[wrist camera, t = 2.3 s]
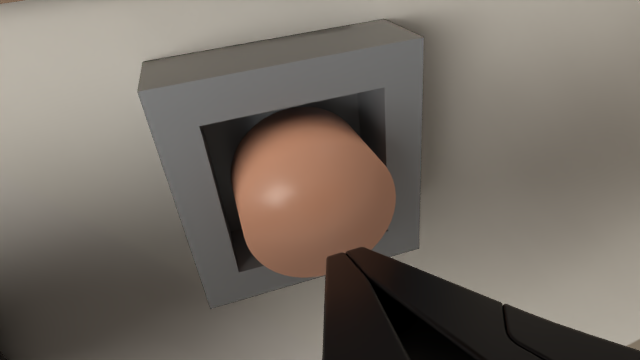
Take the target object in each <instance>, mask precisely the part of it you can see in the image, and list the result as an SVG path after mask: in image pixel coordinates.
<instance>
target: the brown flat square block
mask: <svg viewBox="0 0 640 360" xmlns="http://www.w3.org/2000/svg"><path fill="white" fill-rule="evenodd" d="M16 1H23V0H0V4H2V3H9V2H16Z"/></svg>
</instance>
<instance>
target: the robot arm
mask: <svg viewBox="0 0 640 360" xmlns="http://www.w3.org/2000/svg"><path fill="white" fill-rule="evenodd" d="M0 360H6V358H5V357H4V356H3V354H2V353H1V352H0ZM322 360H640V351H639V350H636V349H633V348H630V347H627V346H624V345H621V344H617V343H614V342H611V341H608V340H605V339H602V338H599V337H596V336H593V335H589V334H586V333H584V332H581V331H578V330H575V329H572V328H569V327H566V326H563V325H560V324H557V323H554V322H551V321H549V320H546V319H544V318H541V317H538V316H536V315H533V314H530V313H528V312H525V311H523V310H520V309H518V308H515V307H513V306H510V305H508V304H504V305H502V303H501V302H499V301H496V300H494V299H491V298H489V297H486V296H484V295H481V294H479V293H476V292H474V291H471V290H469V289H466V288H464V287H461V286H459V285H457V284H454V283H452V282H449V281H447V280H444V279H442V278H439V277H437V276H434V275H432V274H429V273H427V272H424V271H422V270H419V269H417V268H414V267H412V266H410V265H407V264H405V263H402V262H400V261H397V260H395V259H392V258H390V257H387V256H385V255H382V254H380V253H377V252H375V251H372V250H370V249H367V248H365V247H358V248H355V249H351V250H348V251H346V253H343V252H341V253H337V254H334V255H330V256H328V257H327V258H326V277H325V303H324V329H323V355H322Z"/></svg>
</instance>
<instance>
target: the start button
mask: <svg viewBox="0 0 640 360" xmlns="http://www.w3.org/2000/svg"><path fill="white" fill-rule="evenodd" d="M231 184H232V189H233V193H234V197H235V201H236V206H237V210H238V214H239V218H240V222H241V226H242V230H243V235H244V238H245V241H246V244H247V246H248V248H249V250H250V252H251V253H252V254H253V256H254V257H255V258H256V259H257V260H258V261H259V262H260V263H261V264H262V265H264V266H265V267H267V268H268V269H270V270H272V271H274V272H276V273H279V274H282V275H286V276H291V277H300V278H307V277H318V276H323V275H326V258H327V257H328V256H330V255H334V254H337V253H341V252H343V253H346V251H348V250H351V249H355V248H358V247H365V248H367V249H370V250H372V249H373V248H374V247H375V245H376V244H377V243H378V242H379V241H380V239H381V238H382V237H383V235H384V234H385V232H386V230H387V229H388V227H389V225H390V222H391V220H392V217H393V214H394V210H395V204H396V192H395V185H394V181H393V179H392V176H391V174H390V172H389V170H388V169H387V167H386V166H385V165H384V164H383V162H382V161H381V160H380V159H379V158H378V157H377V156H376V154H375V153H374V152H373V151H372V150H371V149H370V148H369V147H368V145H367V144H366V143H365V142H364V141H363V140H362V139H361V138H360V136H359V135H358V134H357V133H356V132H355V131H354V130H353V129H352V127H351V126H350V125H349V124H348V123H347V122H346V121H345V120H343V119H342V118H341V117H339V116H338V115H336V114H334V113H332V112H330V111H327V110H324V109H321V108H316V107H294V108H289V109H285V110H281V111H279V112H276V113H274V114H271V115H270V116H268V117H266V118H264V119H263V120H261V121H260V122H259V123H257V124H256V125H255V126H254V127H253V128H252V129H251V130H250V131H248V133H247V134H246V135H245V136H244V138H243V139H242V140H241V142H240V144H239V145H238V147H237V149H236V152H235V154H234V157H233V160H232V165H231Z"/></svg>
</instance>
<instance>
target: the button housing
mask: <svg viewBox="0 0 640 360" xmlns="http://www.w3.org/2000/svg"><path fill="white" fill-rule="evenodd" d="M423 55H424V37H422V36H420V35H418V34H416V33H413V32H411V31H409V30H407V29H405V28H402V27H400V26H398V25H396V24H394V23H391V22H389V21H387V20H385V19H381V20H375V21H370V22H364V23H359V24H353V25H347V26H342V27H336V28H330V29H325V30H319V31H314V32H308V33H302V34H297V35H291V36H285V37H280V38H274V39H269V40H263V41H257V42H252V43H246V44H240V45H235V46H229V47H224V48H218V49H212V50H207V51H201V52H195V53H190V54H184V55H179V56H173V57H167V58H162V59H156V60H150V61H145V62H143V63H142V68H141V74H140V80H139V85H138V91H137V92H138V95H139V98H140V101H141V104H142V107H143V110H144V113H145V116H146V119H147V122H148V125H149V128H150V131H151V134H152V137H153V140H154V143H155V146H156V148H157V151H158V154H159V157H160V160H161V163H162V166H163V169H164V172H165V175H166V178H167V181H168V184H169V187H170V190H171V193H172V196H173V199H174V202H175V205H176V208H177V211H178V214H179V217H180V220H181V223H182V226H183V229H184V232H185V235H186V238H187V241H188V243H189V246H190V249H191V252H192V255H193V258H194V261H195V264H196V267H197V270H198V273H199V276H200V279H201V282H202V285H203V288H204V291H205V294H206V297H207V300H208V303H209V306H210V309H212V308H215V307H219V306H222V305H225V304H229V303H232V302H236V301H239V300H243V299H246V298H250V297H253V296H257V295H260V294H263V293H267V292H270V291H274V290H277V289H281V288H284V287H288V286H291V285H295V284H298V283H301V282H305V281H308V280H312V279H315V278H319V277H322V276H318V277H307V278H300V277H291V276H286V275H282V274H279V273H276V272H274V271H272V270H270V269H268V268H267V267H265V266H264V265H262V264H261V263H260V262H259V261H258V260H257V259H256V258H255V257H254V256H253V254H252V253H251V252H250V250H249V248H248V246H247V244H246V241H245V238H244V235H243V230H242V226H241V222H240V218H239V214H238V210H237V206H236V201H235V197H234V193H233V189H232V184H231V165H232V160H233V157H234V154H235V152H236V149H237V147H238V145H239V144H240V142H241V140H242V139H243V138H244V136H245V135H246V134H247V133H248V131H250V130H251V129H252V128H253V127H254V126H255V125H256V124H257V123H259V122H260V121H261V120H263V119H264V118H266V117H268V116H270V115H271V114H274V113H276V112H279V111H281V110H285V109H289V108H294V107H316V108H321V109H324V110H327V111H330V112H332V113H334V114H336V115H338V116H339V117H341V118H342V119H343V120H345V121H346V122H347V123H348V124H349V125H350V126H351V127H352V129H353V130H354V131H355V132H356V133H357V134H358V135H359V136H360V138H361V139H362V140H363V141H364V142H365V143H366V144H367V145H368V147H369V148H370V149H371V150H372V151H373V152H374V153H375V154H376V156H377V157H378V158H379V159H380V160H381V161H382V162H383V164H384V165H385V166H386V167H387V169H388V170H389V172H390V174H391V176H392V179H393V181H394V185H395V192H396V204H395V210H394V214H393V217H392V220H391V222H390V225H389V227H388V229H387V230H386V232H385V234H384V235H383V237H382V238H381V239H380V241H379V242H378V243H377V244H376V245H375V247H374V248H373V249H372V251H375V252H377V253H380V254H382V255H385V256H387V257H391V256H395V255H398V254H402V253H405V252H408V251H412V250H415V249H419V228H420V185H421V142H422V98H423ZM323 276H326V275H323Z"/></svg>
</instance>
